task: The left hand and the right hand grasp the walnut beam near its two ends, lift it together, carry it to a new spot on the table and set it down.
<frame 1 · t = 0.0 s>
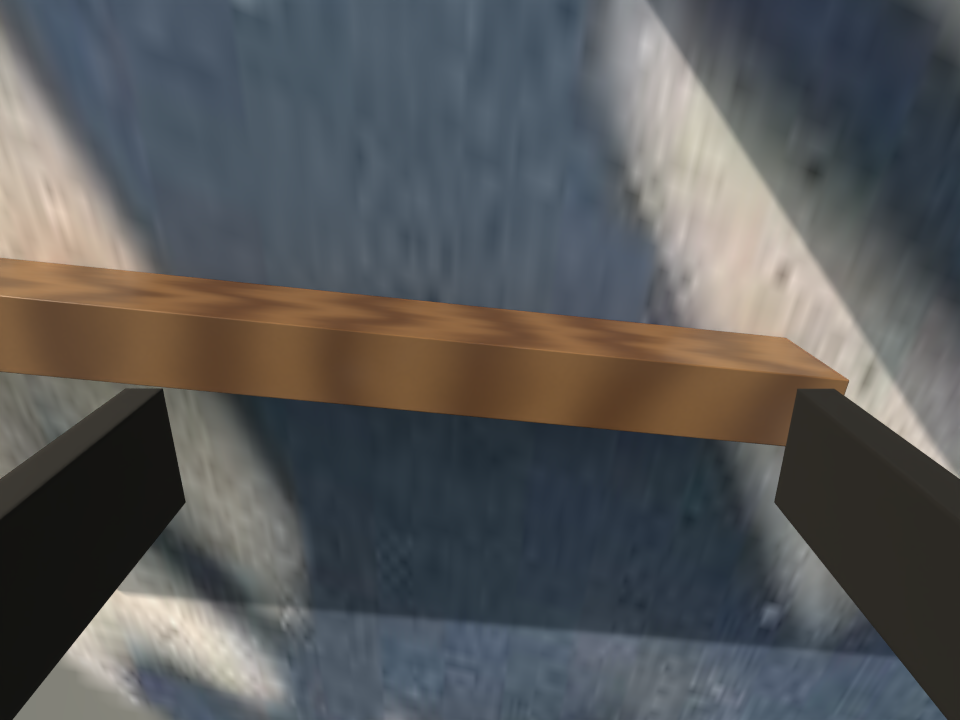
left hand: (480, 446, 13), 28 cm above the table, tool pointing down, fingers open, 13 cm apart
beam: (264, 317, 41), on the table
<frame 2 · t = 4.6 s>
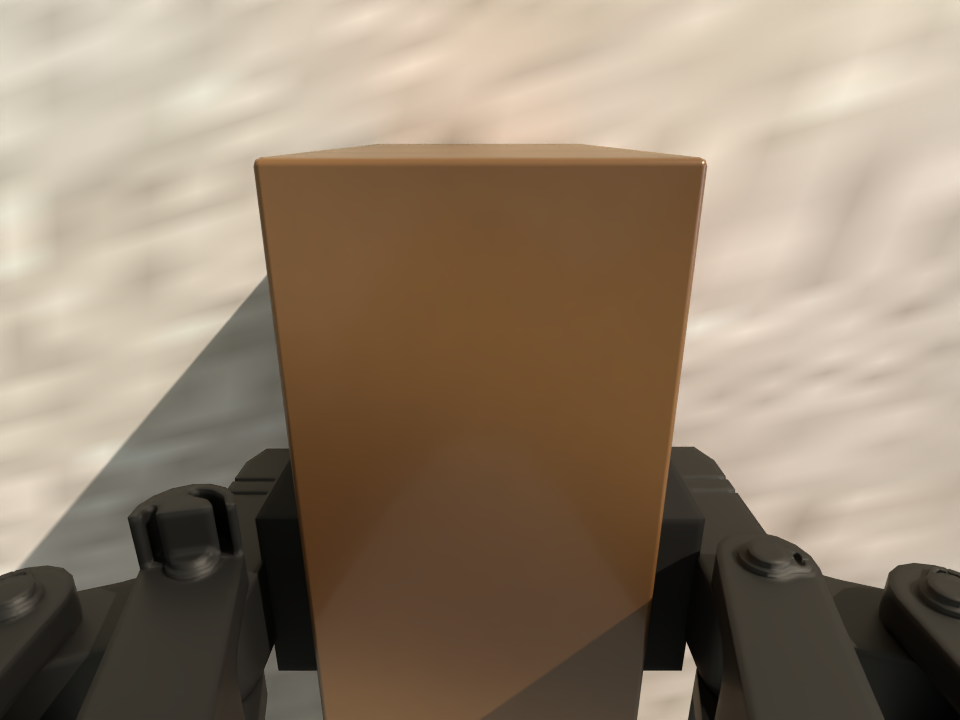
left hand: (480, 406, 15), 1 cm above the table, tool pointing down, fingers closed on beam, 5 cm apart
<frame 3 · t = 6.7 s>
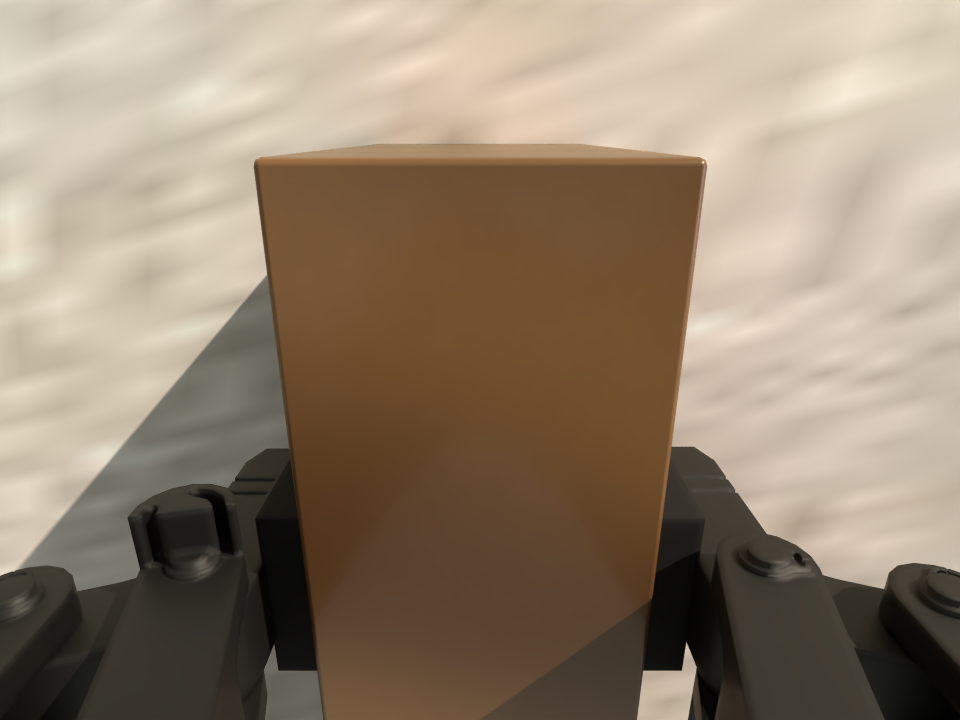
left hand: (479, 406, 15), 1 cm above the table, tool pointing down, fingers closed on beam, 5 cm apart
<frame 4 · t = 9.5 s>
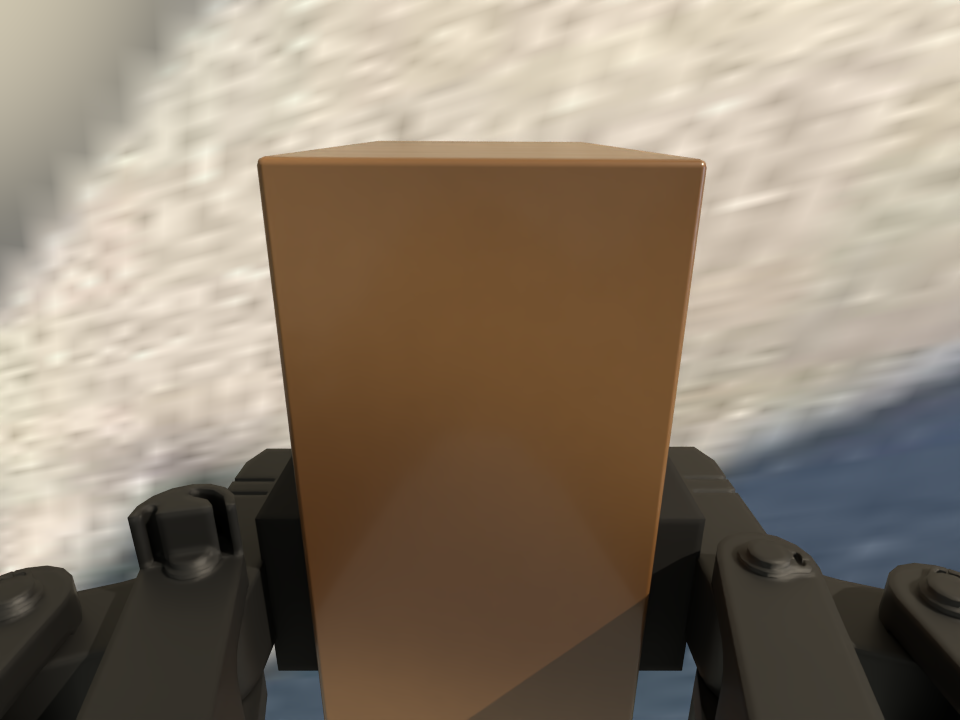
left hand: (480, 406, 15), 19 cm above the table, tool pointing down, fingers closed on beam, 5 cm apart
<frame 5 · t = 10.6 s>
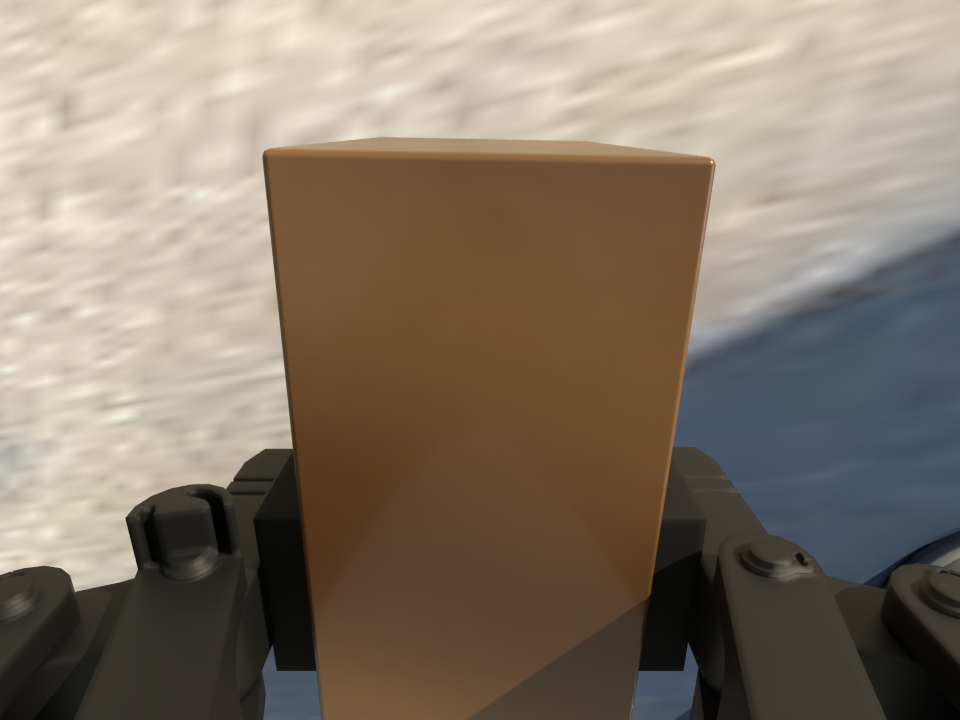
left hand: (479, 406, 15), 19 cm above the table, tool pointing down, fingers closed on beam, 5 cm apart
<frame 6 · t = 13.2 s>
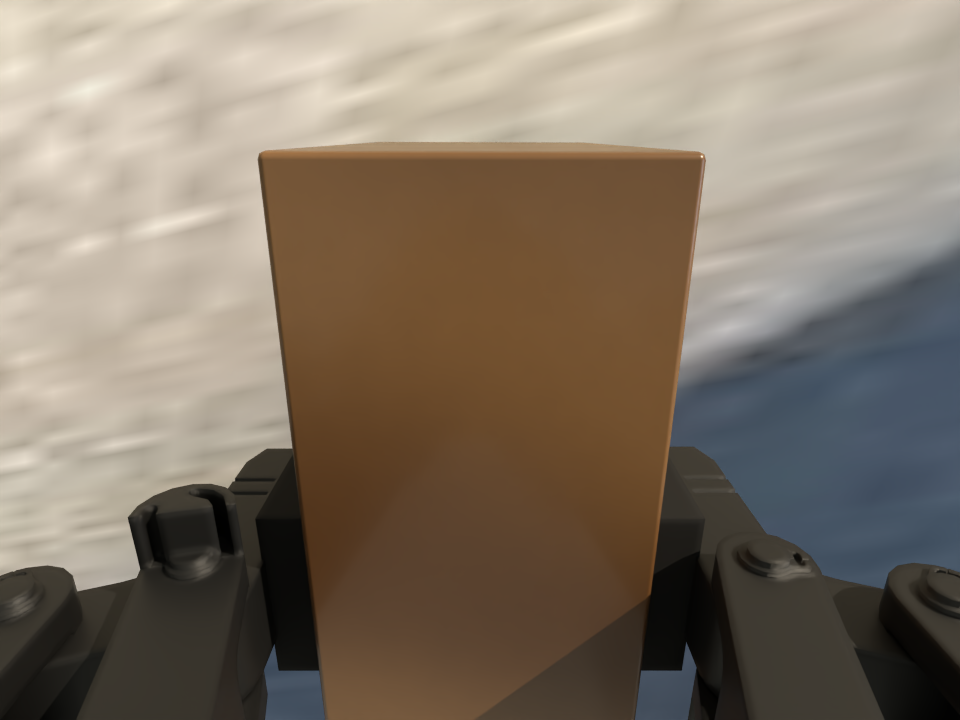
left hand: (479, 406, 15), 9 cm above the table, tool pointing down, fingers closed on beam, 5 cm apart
when the left hand's fingers open (2 cm above the table, at t = 14.6 s): beam stays where it is, on the table.
when the right hand's fingers open (4 cm above the table, at t = 14.8 s): beam stays where it is, on the table.
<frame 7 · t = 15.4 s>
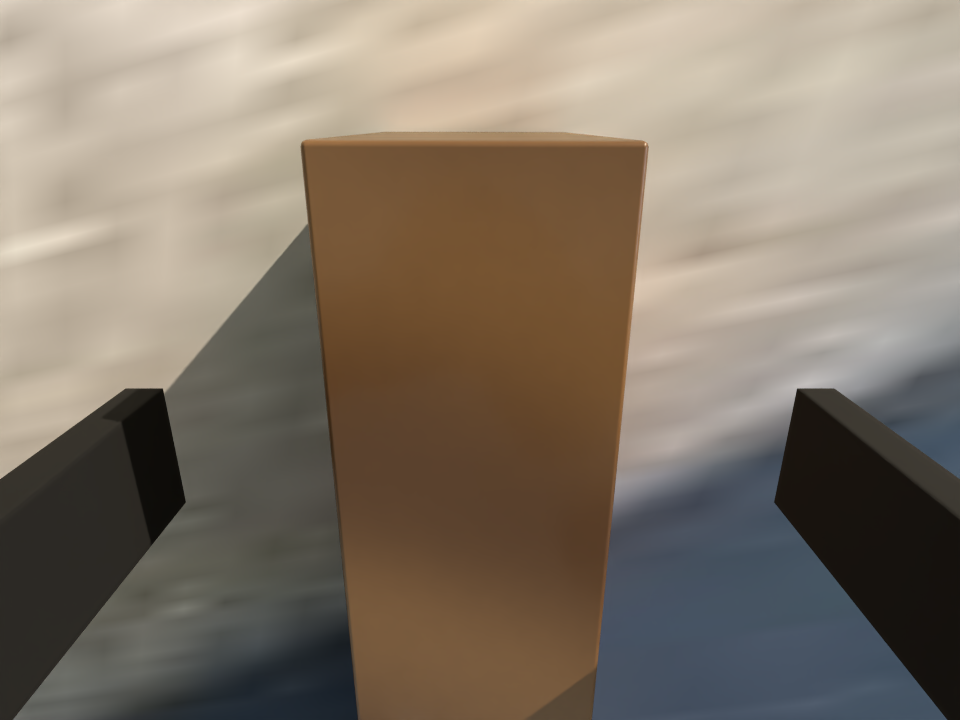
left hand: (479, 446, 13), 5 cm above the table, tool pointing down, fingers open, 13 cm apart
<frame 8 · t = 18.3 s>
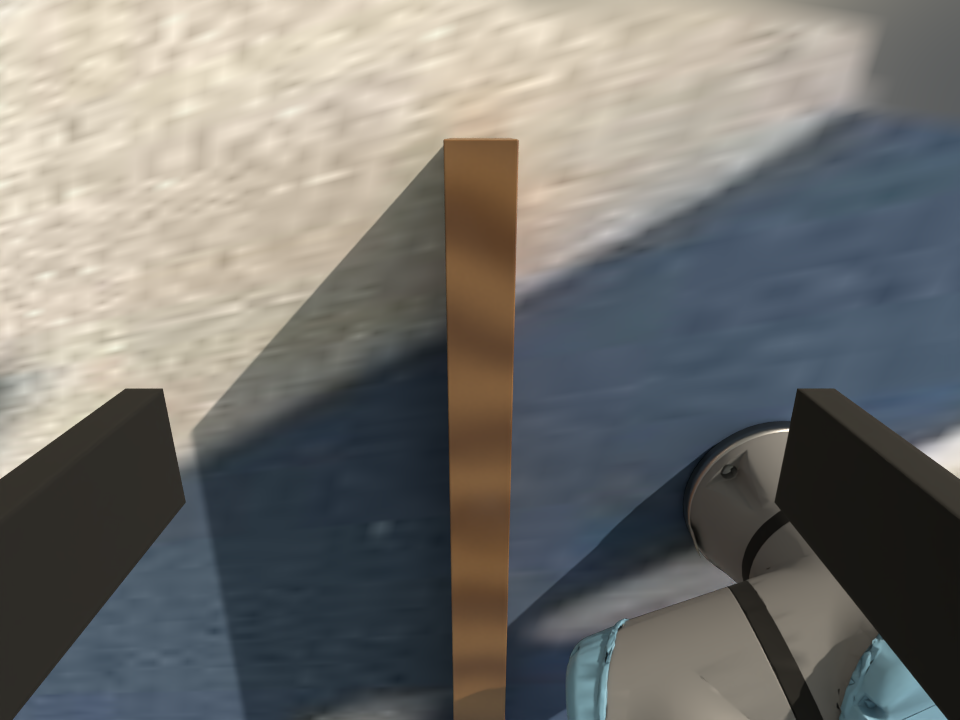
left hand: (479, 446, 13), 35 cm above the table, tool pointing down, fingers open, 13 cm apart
beam: (479, 545, 56), on the table
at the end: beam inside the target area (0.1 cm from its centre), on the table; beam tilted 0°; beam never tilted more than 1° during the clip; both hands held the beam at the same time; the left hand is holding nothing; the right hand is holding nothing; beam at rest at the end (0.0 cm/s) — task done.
